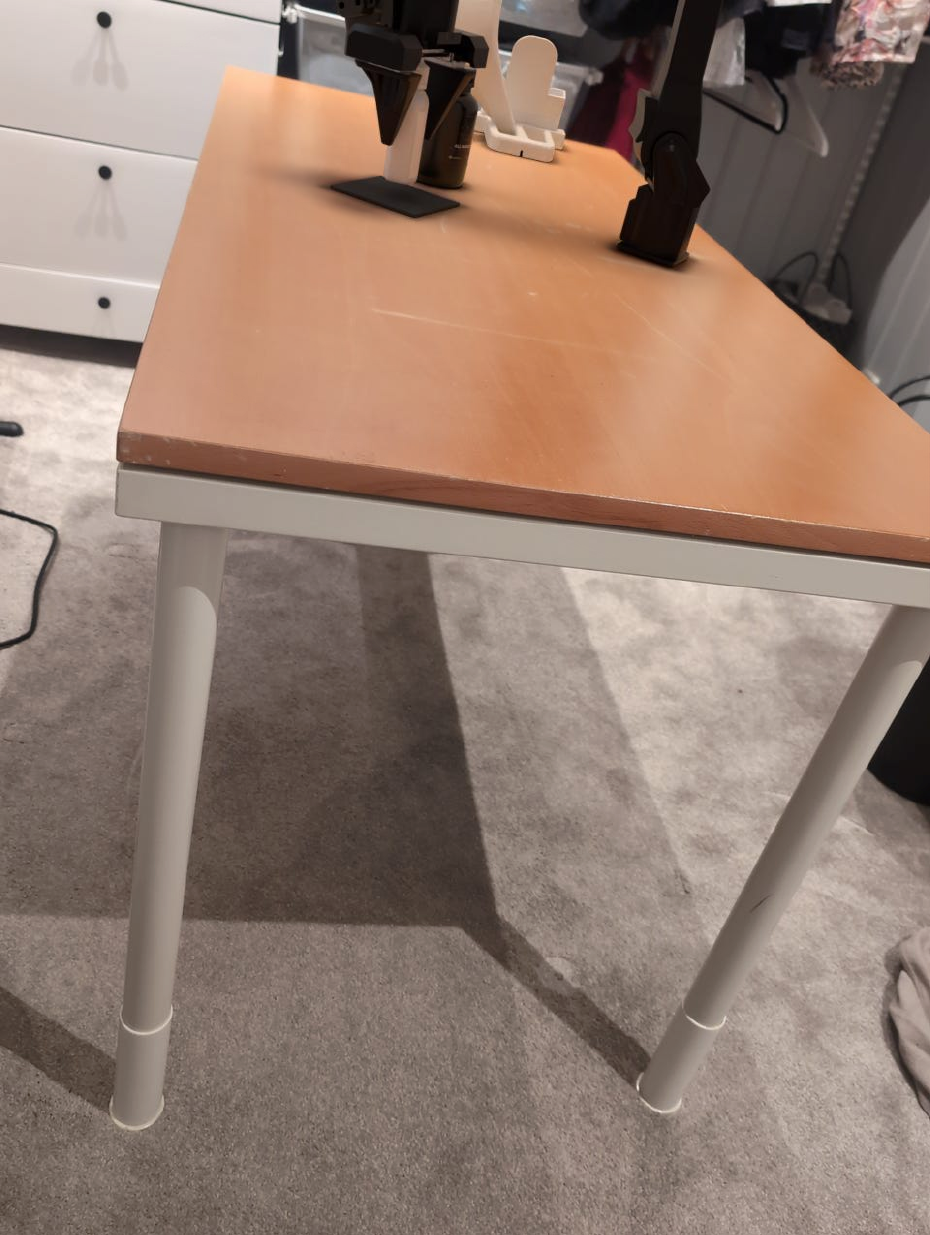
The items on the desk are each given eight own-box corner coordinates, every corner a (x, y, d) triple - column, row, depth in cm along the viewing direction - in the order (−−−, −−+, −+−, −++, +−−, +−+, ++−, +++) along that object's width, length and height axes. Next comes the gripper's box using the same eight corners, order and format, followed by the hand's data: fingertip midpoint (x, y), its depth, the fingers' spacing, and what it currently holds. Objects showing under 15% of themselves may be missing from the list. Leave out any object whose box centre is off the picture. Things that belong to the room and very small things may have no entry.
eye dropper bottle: (432, 183, 107) (454, 55, 100) (400, 186, 103) (421, 53, 96) (399, 170, 108) (418, 44, 102) (366, 174, 104) (384, 42, 98)
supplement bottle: (462, 193, 114) (485, 75, 107) (402, 179, 113) (421, 59, 107) (463, 180, 120) (485, 66, 113) (406, 167, 119) (425, 52, 112)
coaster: (459, 205, 109) (460, 203, 109) (414, 217, 101) (414, 214, 101) (380, 178, 112) (380, 175, 112) (329, 188, 104) (330, 185, 104)
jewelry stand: (559, 144, 152) (606, -51, 138) (569, 167, 140) (622, -46, 126) (393, 107, 149) (424, -97, 135) (388, 127, 136) (422, -96, 122)
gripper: (409, -50, 104) (385, 115, 113) (305, -66, 90) (287, 125, 99) (505, -24, 101) (473, 143, 110) (414, -36, 87) (385, 158, 96)
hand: (406, 141), depth 104 cm, fingers closed on eye dropper bottle, 8 cm apart
